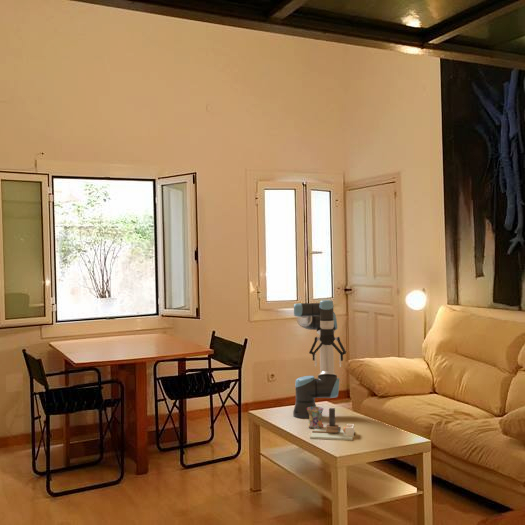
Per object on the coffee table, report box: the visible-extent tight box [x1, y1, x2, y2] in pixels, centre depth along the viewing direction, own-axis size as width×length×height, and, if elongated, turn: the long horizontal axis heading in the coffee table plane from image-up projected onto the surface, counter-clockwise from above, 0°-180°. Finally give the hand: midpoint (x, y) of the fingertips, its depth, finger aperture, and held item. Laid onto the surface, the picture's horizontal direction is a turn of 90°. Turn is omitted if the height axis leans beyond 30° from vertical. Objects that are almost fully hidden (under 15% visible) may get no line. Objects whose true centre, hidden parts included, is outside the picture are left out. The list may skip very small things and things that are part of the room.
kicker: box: [325, 407, 342, 433], centre depth 330 cm, size 5×7×12 cm
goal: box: [344, 423, 355, 437], centre depth 328 cm, size 8×4×4 cm, turn 167°
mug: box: [307, 406, 324, 429], centre depth 348 cm, size 12×9×11 cm
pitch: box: [309, 428, 356, 441], centre depth 329 cm, size 16×22×2 cm
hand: (328, 366), depth 341 cm, fingers open, 13 cm apart
